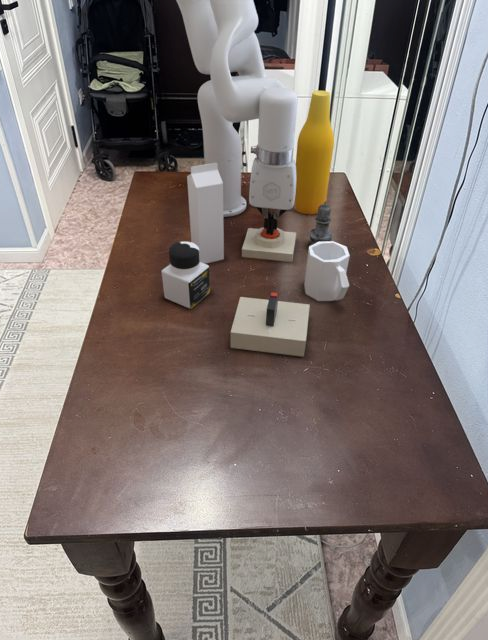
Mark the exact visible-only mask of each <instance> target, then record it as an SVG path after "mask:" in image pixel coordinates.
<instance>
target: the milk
mask: <svg viewBox="0 0 488 640" xmlns="http://www.w3.org/2000/svg"><path fill="white" fill-rule="evenodd" d="M186 179H187V180H186V181H187V195H188V211H189V212H188V214H189V226H190V228H189V229H190V242H192V243H194V244H196V245H197V246H198V247H199V255H200V262H201V263H204V264H210V263H215V262H219V261H224V260H225V246H224V245H225V243H224V241H225V237H224V236H225V233H224V229H225V228H224V217H223V182H222V179H221V177H220V174H219V171H218V164H217V163H211V164H205V165H204V164H199V165H192V166H191V167H190V174H188V175H187V176H186Z"/></svg>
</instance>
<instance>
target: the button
mask: <svg viewBox="0 0 488 640" xmlns="http://www.w3.org/2000/svg"><path fill="white" fill-rule="evenodd" d="M266 230H267V229H263V230H262V237H264V238H266V239H275V238H278V236H279V231H278V230H274V232H273V234H270V233H269V234H266Z"/></svg>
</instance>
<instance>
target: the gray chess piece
mask: <svg viewBox="0 0 488 640" xmlns="http://www.w3.org/2000/svg"><path fill="white" fill-rule="evenodd" d="M331 211H332V208H331V206H330V205H329V204H328V202H327V200H326V201H325V202H324V204H322V205H320V206H319V208H318V214H316V215H317V216H316V217H315V218H314V220H315V227H314V228H312V229H310V230H309V232H308V236H309V239H310V242H309V243H308V248H309V247H310V246H311V245H313V244H315V243H317V242H325V241H332V239H333V238H334V233H333V231H331V230H330V229H329V227H330V223H331V221H332V220H331V217H330V216H331Z"/></svg>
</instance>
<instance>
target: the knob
mask: <svg viewBox="0 0 488 640" xmlns="http://www.w3.org/2000/svg"><path fill="white" fill-rule="evenodd" d="M268 300H269V302H268V306H267V313H266V325H268V326H274V322H275V318H276V313H277V306H278V301H279V293H278V292H273V291H272V292H270V294H269V299H268Z"/></svg>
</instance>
